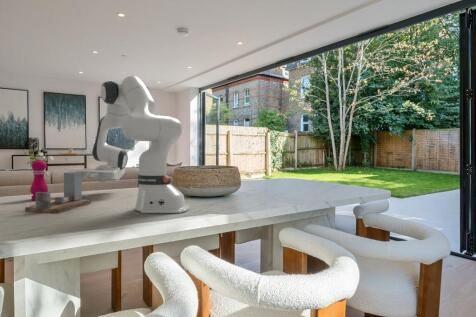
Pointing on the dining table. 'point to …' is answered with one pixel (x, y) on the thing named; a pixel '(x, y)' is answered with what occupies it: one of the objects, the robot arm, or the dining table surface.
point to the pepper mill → (38, 178)
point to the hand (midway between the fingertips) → (88, 175)
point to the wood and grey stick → (58, 199)
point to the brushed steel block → (72, 186)
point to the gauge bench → (53, 204)
